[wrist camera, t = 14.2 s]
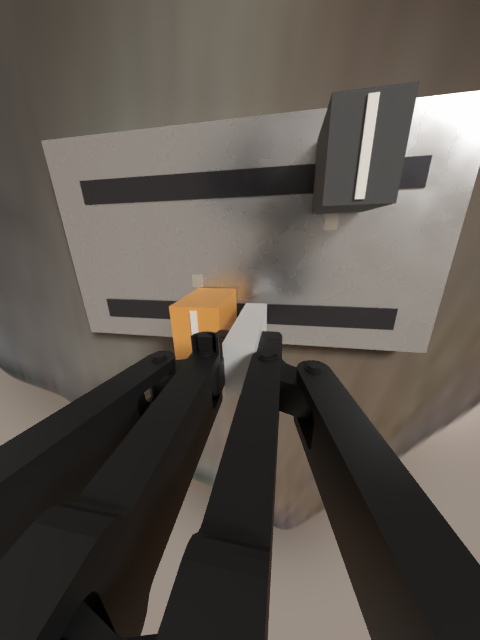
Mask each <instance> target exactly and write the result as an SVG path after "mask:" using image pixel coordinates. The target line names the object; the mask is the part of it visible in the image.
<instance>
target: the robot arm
mask: <svg viewBox="0 0 480 640" xmlns="http://www.w3.org/2000/svg"><path fill="white" fill-rule="evenodd" d="M191 344H192V353H191V354H190V356H189V357H188V358H187V359H180V360H175V356H174V354H173V353H171V352H168V351H158V352H156V353H153V354H151V355H148V356H147V357H145V358H144V359H142V360H140V361H139V362H137V363H135V364H134V365H132V366H130V367H129V368H127V369H126V370H124V371H122V372H121V373H119V374H117V375H116V376H114V377H112V378H111V379H109V380H108V381H106V382H104V383H103V384H101V385H99V386H98V387H96V388H94V389H93V390H91V391H90V392H88V393H86V394H85V395H83V396H81V397H80V398H78V399H76V400H75V401H73V402H72V403H70V404H68V405H67V406H65V407H63V408H62V409H60V410H58V411H57V412H55V413H54V414H52V415H50V416H49V417H47V418H45V419H44V420H42V421H40V422H39V423H37V424H36V425H34V426H32V427H31V428H29V429H27V430H26V431H24V432H23V433H21V434H19V435H17V436H16V437H14V438H13V439H11V440H9V441H8V442H6V443H5V444H3V445H1V446H0V640H268V620H269V600H270V581H271V561H272V541H273V522H274V503H275V483H276V464H277V444H278V425H279V411H282V412H284V413H287V414H290V415H292V416H294V422H295V425H296V428H297V431H298V434H299V436H300V439H301V442H302V445H303V448H304V451H305V453H306V456H307V459H308V462H309V465H310V467H311V470H312V473H313V476H314V479H315V482H316V484H317V487H318V490H319V493H320V496H321V499H322V501H323V504H324V507H325V510H326V513H327V515H328V518H329V521H330V524H331V527H332V529H333V532H334V535H335V538H336V541H337V544H338V546H339V549H340V552H341V555H342V558H343V561H344V563H345V566H346V569H347V572H348V575H349V578H350V580H351V583H352V586H353V589H354V592H355V594H356V597H357V600H358V603H359V606H360V609H361V612H362V614H363V617H364V620H365V623H366V626H367V629H368V631H369V634H370V637H371V640H480V565H479V563H478V562H477V561H476V559H475V558H474V557H473V555H472V554H471V553H470V551H469V550H468V549H467V547H466V546H465V545H464V544H463V542H462V541H461V540H460V539H459V537H458V536H457V534H456V533H455V532H454V530H453V529H452V528H451V526H450V525H449V524H448V523H447V521H446V520H445V519H444V517H443V516H442V515H441V513H440V512H439V511H438V509H437V508H436V507H435V505H434V504H433V503H432V502H431V500H430V499H429V498H428V496H427V495H426V494H425V492H424V491H423V490H422V488H421V487H420V486H419V484H418V483H417V482H416V480H415V479H414V478H413V476H412V475H411V474H410V473H409V471H408V470H407V469H406V467H405V466H404V465H403V463H402V462H401V461H400V459H399V458H398V457H397V455H396V454H395V453H394V452H393V450H392V449H391V448H390V446H389V445H388V444H387V442H386V441H385V440H384V438H383V437H382V436H381V434H380V433H379V432H378V430H377V429H376V428H375V427H374V425H373V424H372V423H371V421H370V420H369V419H368V417H367V416H366V415H365V413H364V412H363V411H362V409H361V408H360V407H359V406H358V404H357V403H356V402H355V400H354V399H353V398H352V396H351V395H350V394H349V392H348V391H347V390H346V388H345V387H344V386H343V384H342V383H341V382H340V381H339V379H338V378H337V377H336V375H335V374H334V373H333V371H332V370H331V369H330V368H329V367H328V366H327V365H326V364H324V363H322V362H319V361H314V360H312V361H311V360H308V361H303V362H301V363H299V364H298V365H297V367H294V366H291V365H289V364H287V363H285V362H284V361H283V360H282V334H281V333H280V332H273V331H267V304H264V303H246V304H245V306H244V307H243V309H242V311H241V312H240V314H239V316H238V317H237V319H236V321H235V323H234V324H233V326H232V328H231V329H230V330H219V331H217V332H216V333H215V332H210V331H204V332H198V333H195V334H193V335H192V336H191ZM224 385H225V394H234V395H240V397H239V401H238V404H237V407H236V411H235V414H234V417H233V421H232V424H231V428H230V431H229V434H228V438H227V441H226V444H225V448H224V451H223V455H222V458H221V461H220V465H219V468H218V472H217V475H216V478H215V482H214V485H213V488H212V492H211V495H210V499H209V502H208V505H207V509H206V512H205V515H204V519H203V522H202V525H201V528H200V529H199V532H198V533H195V534H194V535H192V537H191V539H190V540H189V542H188V544H187V547H186V550H185V552H184V555H183V557H182V561H181V563H180V566H179V570H178V573H177V576H176V579H175V582H174V585H173V588H172V591H171V594H170V597H169V600H168V603H167V606H166V609H165V612H164V616H163V619H162V622H161V625H160V628H159V631H158V634H152V635H145V636H140V635H141V632H142V629H143V626H144V621H145V617H146V613H147V606H148V599H149V592H150V589H151V585H152V582H153V579H154V576H155V574H156V571H157V568H158V566H159V563H160V561H161V558H162V556H163V553H164V550H165V548H166V545H167V543H168V540H169V537H170V534H171V532H172V530H173V527H174V524H175V522H176V519H177V516H178V514H179V511H180V509H181V506H182V504H183V501H184V498H185V496H186V493H187V491H188V488H189V485H190V483H191V480H192V478H193V475H194V472H195V470H196V467H197V465H198V462H199V459H200V457H201V454H202V452H203V449H204V447H205V444H206V441H207V439H208V436H209V434H210V431H211V428H212V426H213V423H214V421H215V418H216V415H217V413H218V410H219V408H220V405H221V402H222V398H223V396H222V390H223V387H224ZM149 388H150V393H151V398H149V399H148V400H146V399H145V395H144V392H145V391H146V390H147V389H149Z"/></svg>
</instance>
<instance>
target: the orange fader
mask: <svg viewBox="0 0 480 640" xmlns="http://www.w3.org/2000/svg"><path fill="white" fill-rule="evenodd" d="M169 312H170V320H171V327H172V335H173V342H174V350H175V357H176V360H180V359H187V358H188V357H189V356H190V354H191V353H192V344H191V336H192V335H193V334H195V333H198V332H204V331H210V332H215V333H216V332H217V331H219V330H230V329H231V328H232V326H233V324H234V323H235V321H236V319H237V302H236V289H232V288H197V289H196V290H194V291H193V292H191V293H189V294H188V295H186V296H185V297H183V298H182V299H180V300H178V301H177V302H175V303H174V304H172V305H170V306H169Z"/></svg>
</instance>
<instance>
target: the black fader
mask: <svg viewBox="0 0 480 640" xmlns="http://www.w3.org/2000/svg"><path fill="white" fill-rule="evenodd" d="M418 85H419V82H411V83H403V84H395V85H387V86H380V87H372V88H364V89H356V90H348V91H340V92H333V93H332V96H331V99H330V102H329V105H328V108H327V112H326V115H325V118H324V121H323V124H322V127H321V130H320V133H319V136H318V140H317V153H316V166H315V179H314V192H313V205H312V214H324V213H352V212H364V211H368V210H372V209H376V208H379V207H383V206H387V205H391V204H394V203H396V201H397V196H398V191H399V185H400V180H401V175H402V170H403V164H404V159H405V154H406V148H407V143H408V138H409V133H410V127H411V122H412V117H413V111H414V106H415V101H416V96H417V90H418Z"/></svg>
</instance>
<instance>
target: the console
mask: <svg viewBox="0 0 480 640" xmlns="http://www.w3.org/2000/svg"><path fill="white" fill-rule="evenodd" d="M326 112H327V108H322V109H313V110H304V111H296V112H287V113H278V114H269V115H261V116H252V117H243V118H234V119H226V120H217V121H208V122H199V123H191V124H182V125H173V126H164V127H156V128H147V129H138V130H129V131H121V132H112V133H103V134H94V135H86V136H77V137H68V138H59V139H51V140H42V141H41V142H42V146H43V150H44V154H45V157H46V161H47V165H48V169H49V173H50V176H51V180H52V184H53V188H54V192H55V195H56V199H57V203H58V207H59V211H60V214H61V218H62V222H63V226H64V230H65V233H66V237H67V241H68V245H69V249H70V252H71V256H72V260H73V264H74V268H75V271H76V275H77V279H78V283H79V287H80V290H81V294H82V298H83V302H84V306H85V309H86V313H87V317H88V321H89V325H90V328H91V332H100V333H116V334H132V335H148V336H164V337H173V335H172V327H171V320H170V312H169V306H170V305H172V304H174V303H175V302H177V301H178V300H180V299H182V298H183V297H185V296H186V295H188V294H189V293H191V292H193V291H194V290H196V289H197V288H232V289H236V302H237V317H238V316H239V314H240V312H241V311H242V309H243V307H244V306H245V304H246V303H264V304H267V331H273V332H280V333H281V334H282V344H291V345H307V346H323V347H339V348H355V349H370V350H386V351H402V352H418V353H426V351H427V347H428V344H429V340H430V337H431V333H432V330H433V326H434V323H435V319H436V316H437V312H438V309H439V305H440V302H441V298H442V295H443V291H444V288H445V284H446V281H447V277H448V274H449V270H450V267H451V263H452V260H453V257H454V253H455V250H456V246H457V243H458V239H459V236H460V232H461V229H462V225H463V222H464V218H465V215H466V211H467V208H468V204H469V201H470V197H471V194H472V190H473V187H474V183H475V180H476V176H477V173H478V169H479V166H480V90H479V91H471V92H462V93H453V94H444V95H436V96H427V97H418V98H416V101H415V106H414V111H413V117H412V122H411V127H410V133H409V138H408V143H407V148H406V154H405V159H404V164H403V170H402V175H401V180H400V185H399V191H398V196H397V201H396V203H394V204H391V205H387V206H383V207H379V208H376V209H372V210H368V211H364V212H352V213H324V214H312V205H313V192H314V179H315V166H316V153H317V140H318V136H319V133H320V130H321V127H322V124H323V121H324V118H325V115H326Z"/></svg>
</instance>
